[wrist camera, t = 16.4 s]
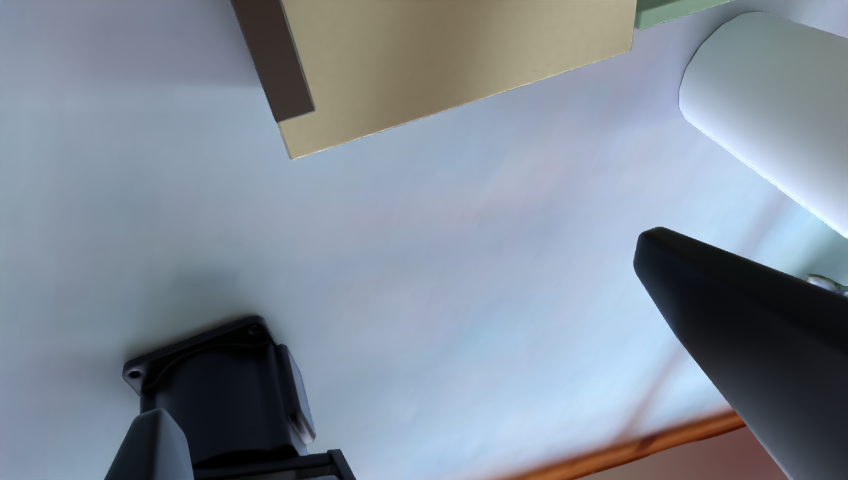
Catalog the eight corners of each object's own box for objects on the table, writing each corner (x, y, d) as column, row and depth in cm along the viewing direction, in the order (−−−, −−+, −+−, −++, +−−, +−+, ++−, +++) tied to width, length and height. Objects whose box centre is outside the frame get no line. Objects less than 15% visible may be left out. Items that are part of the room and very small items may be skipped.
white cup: (646, 101, 26) (829, 222, 19) (753, -29, 24) (1008, 55, 17) (710, 151, 30) (881, 267, 23) (807, 43, 28) (1032, 136, 21)
